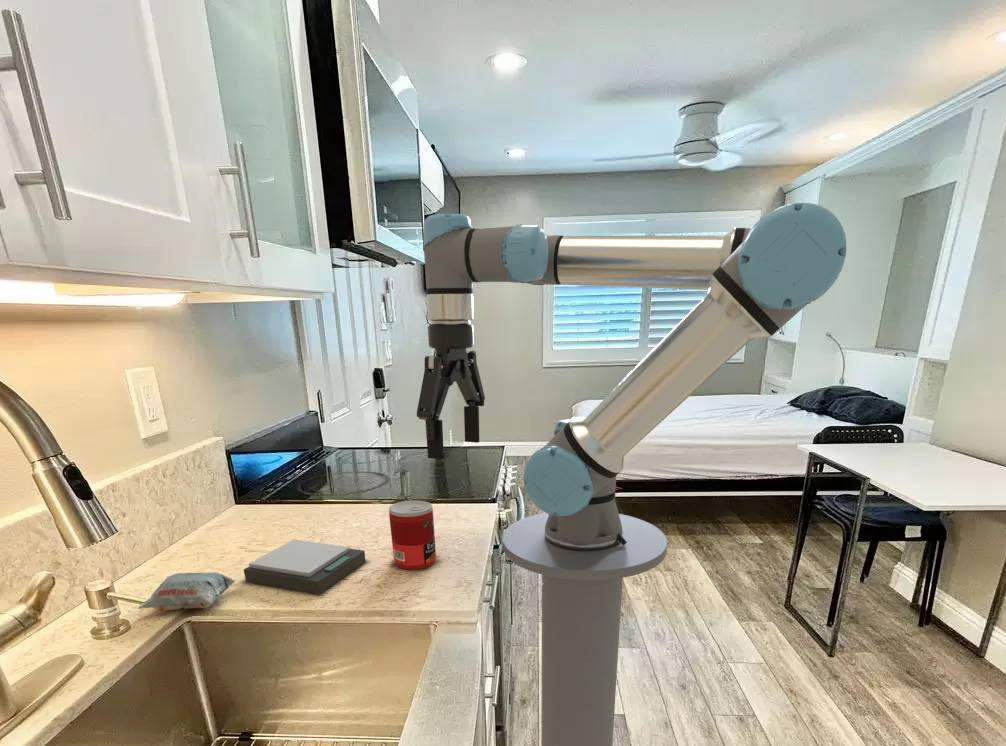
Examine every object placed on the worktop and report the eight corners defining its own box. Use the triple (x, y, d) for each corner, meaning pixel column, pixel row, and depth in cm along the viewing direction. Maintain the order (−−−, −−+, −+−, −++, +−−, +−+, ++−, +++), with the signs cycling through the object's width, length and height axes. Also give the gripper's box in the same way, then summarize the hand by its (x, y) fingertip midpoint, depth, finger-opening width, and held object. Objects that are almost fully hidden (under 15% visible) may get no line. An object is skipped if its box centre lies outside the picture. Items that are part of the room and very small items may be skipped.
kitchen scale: (365, 562, 108) (364, 546, 107) (319, 594, 96) (317, 577, 95) (297, 552, 114) (294, 537, 112) (245, 581, 102) (242, 565, 100)
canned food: (434, 569, 104) (430, 512, 100) (391, 570, 104) (384, 514, 100) (438, 553, 111) (434, 499, 107) (397, 554, 111) (392, 500, 107)
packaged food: (215, 616, 90) (208, 588, 88) (140, 619, 90) (132, 590, 88) (238, 592, 98) (232, 565, 96) (169, 594, 98) (162, 568, 96)
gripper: (465, 320, 106) (468, 434, 114) (387, 325, 85) (398, 464, 93) (502, 320, 103) (502, 437, 111) (431, 325, 82) (438, 468, 90)
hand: (455, 449), depth 102 cm, fingers open, 13 cm apart
